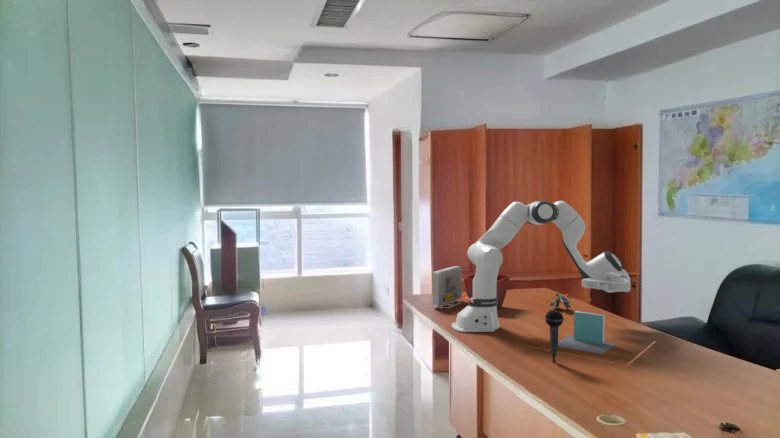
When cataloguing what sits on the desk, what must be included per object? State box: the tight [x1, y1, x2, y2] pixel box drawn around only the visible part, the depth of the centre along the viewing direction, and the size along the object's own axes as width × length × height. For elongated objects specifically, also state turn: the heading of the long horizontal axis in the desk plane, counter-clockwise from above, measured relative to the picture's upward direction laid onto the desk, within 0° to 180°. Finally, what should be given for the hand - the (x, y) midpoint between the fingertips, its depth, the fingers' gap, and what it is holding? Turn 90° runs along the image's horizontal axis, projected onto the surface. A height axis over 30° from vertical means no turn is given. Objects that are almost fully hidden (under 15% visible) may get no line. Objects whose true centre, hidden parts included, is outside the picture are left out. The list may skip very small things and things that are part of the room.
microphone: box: [544, 309, 565, 363], centre depth 209 cm, size 7×7×20 cm
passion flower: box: [546, 292, 572, 312], centre depth 292 cm, size 11×11×12 cm
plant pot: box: [463, 273, 511, 310], centre depth 299 cm, size 19×19×17 cm
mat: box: [558, 334, 617, 355], centre depth 230 cm, size 18×20×1 cm
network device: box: [432, 265, 463, 309], centre depth 307 cm, size 26×9×20 cm, turn 144°
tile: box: [573, 310, 606, 345], centre depth 233 cm, size 2×12×12 cm, turn 51°
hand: (600, 287), depth 242 cm, fingers closed
